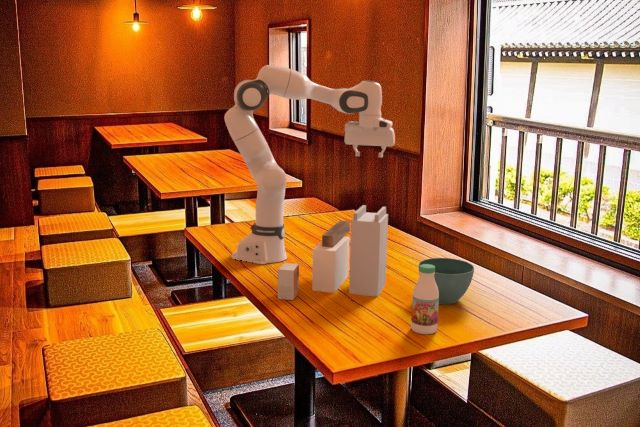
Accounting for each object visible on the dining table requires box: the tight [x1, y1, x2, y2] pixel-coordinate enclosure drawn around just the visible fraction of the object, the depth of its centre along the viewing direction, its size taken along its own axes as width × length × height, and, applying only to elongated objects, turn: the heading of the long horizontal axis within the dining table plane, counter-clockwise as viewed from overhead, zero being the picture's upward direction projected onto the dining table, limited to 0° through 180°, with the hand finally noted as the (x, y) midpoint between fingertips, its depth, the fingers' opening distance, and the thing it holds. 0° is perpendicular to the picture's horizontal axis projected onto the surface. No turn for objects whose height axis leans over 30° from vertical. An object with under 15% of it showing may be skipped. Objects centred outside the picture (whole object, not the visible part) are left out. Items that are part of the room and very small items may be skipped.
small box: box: [277, 262, 300, 301], centre depth 223 cm, size 8×6×10 cm
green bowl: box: [418, 257, 475, 305], centre depth 221 cm, size 18×18×12 cm
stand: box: [348, 204, 389, 298], centre depth 230 cm, size 10×14×28 cm
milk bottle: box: [410, 264, 440, 335], centre depth 195 cm, size 8×8×20 cm
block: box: [311, 236, 350, 294], centre depth 237 cm, size 8×20×15 cm, turn 164°
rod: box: [321, 220, 351, 247], centre depth 240 cm, size 4×24×4 cm, turn 164°
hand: (369, 156), depth 266 cm, fingers open, 8 cm apart
